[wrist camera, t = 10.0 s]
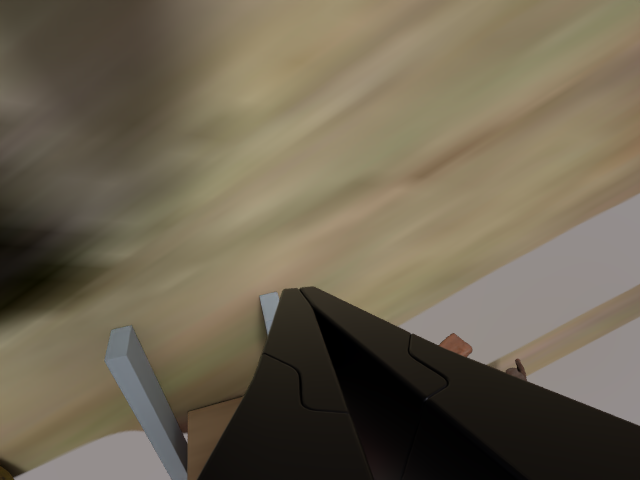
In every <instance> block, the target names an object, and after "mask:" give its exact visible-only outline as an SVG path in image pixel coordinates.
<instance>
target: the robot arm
mask: <svg viewBox="0 0 640 480" xmlns="http://www.w3.org/2000/svg"><path fill="white" fill-rule="evenodd" d="M197 480H640V426H638V425H636V424H634V423H631V422H629V421H626V420H624V419H621V418H618V417H616V416H613V415H611V414H609V413H606V412H603V411H601V410H598V409H596V408H593V407H591V406H588V405H586V404H583V403H581V402H578V401H576V400H573V399H570V398H568V397H566V396H563V395H560V394H558V393H555V392H553V391H550V390H548V389H545V388H543V387H540V386H538V385H535V384H533V383H530V382H528V381H525V380H523V379H520V378H518V377H515V376H513V375H510V374H507V373H505V372H502V371H500V370H497V369H495V368H492V367H490V366H487V365H485V364H482V363H479V362H477V361H475V360H472V359H470V358H467V357H465V356H462V355H460V354H457V353H455V352H453V351H450V350H448V349H445V348H443V347H441V346H439V345H436V344H434V343H432V342H430V341H427V340H425V339H423V338H421V337H419V336H417V335H415V334H410V333H409V332H407V331H405V330H403V329H401V328H399V327H397V326H395V325H393V324H391V323H389V322H387V321H385V320H383V319H381V318H379V317H376V316H374V315H372V314H370V313H368V312H366V311H364V310H362V309H360V308H358V307H356V306H354V305H351V304H349V303H347V302H345V301H343V300H341V299H339V298H337V297H335V296H333V295H331V294H329V293H326V292H324V291H322V290H320V289H318V288H316V287H313V286H312V287H302V288H300V289H298V288H291V289H284V290H283V291H282V294H281V297H280V300H279V303H278V306H277V309H276V312H275V315H274V318H273V321H272V324H271V327H270V330H269V334H268V337H267V340H266V343H265V346H264V349H263V352H262V355H261V357H260V360H259V363H258V366H257V368H256V371H255V373H254V376H253V379H252V381H251V383H250V385H249V387H248V389H247V391H246V393H245V395H244V396H243V398H242V400H241V402H240V404H239V405H238V407H237V409H236V411H235V412H234V414H233V416H232V418H231V419H230V421H229V423H228V425H227V427H226V428H225V430H224V432H223V434H222V435H221V437H220V439H219V441H218V442H217V444H216V446H215V448H214V450H213V451H212V453H211V455H210V457H209V458H208V460H207V462H206V464H205V465H204V467H203V469H202V471H201V473H200V474H199V476H198V478H197Z"/></svg>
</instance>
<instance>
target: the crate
mask: <svg viewBox="0 0 640 480" xmlns="http://www.w3.org/2000/svg"><path fill="white" fill-rule="evenodd" d="M242 398H243V397H240V398H236V399H233V400H229V401H226V402H222V403H218V404H215V405H211V406H208V407H204V408H200V409H197V410H193V411H190V412H188V463H187V480H197V478H198V476H199V474H200V473H201V471H202V469H203V467H204V465H205V464H206V462H207V460H208V458H209V457H210V455H211V453H212V451H213V450H214V448H215V446H216V444H217V442H218V441H219V439H220V437H221V435H222V434H223V432H224V430H225V428H226V427H227V425H228V423H229V421H230V419H231V418H232V416H233V414H234V412H235V411H236V409H237V407H238V405H239V404H240V402H241V400H242Z"/></svg>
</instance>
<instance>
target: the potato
mask: <svg viewBox="0 0 640 480" xmlns="http://www.w3.org/2000/svg"><path fill="white" fill-rule="evenodd" d="M0 480H14V478H13V477H12V475H11V474H10V473H9V472H8V471H7V470H5V469H4V468H2V467H1V466H0Z"/></svg>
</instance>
